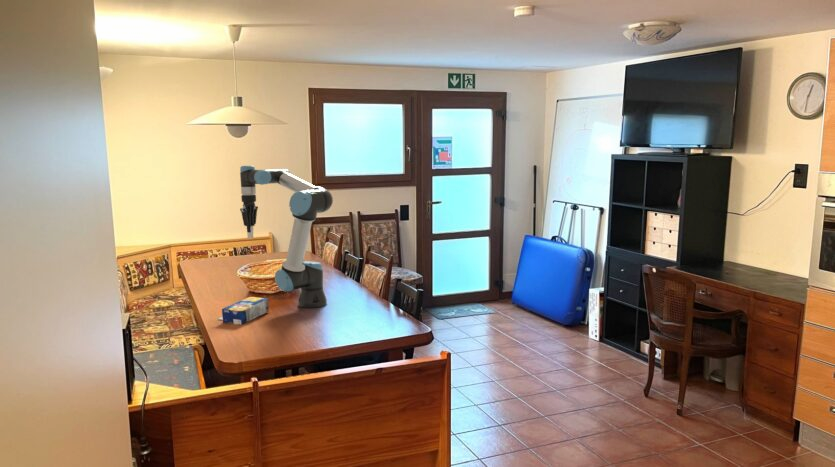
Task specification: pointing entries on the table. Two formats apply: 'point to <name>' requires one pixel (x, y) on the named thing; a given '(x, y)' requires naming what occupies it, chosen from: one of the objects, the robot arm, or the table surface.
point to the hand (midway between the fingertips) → (250, 237)
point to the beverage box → (245, 310)
